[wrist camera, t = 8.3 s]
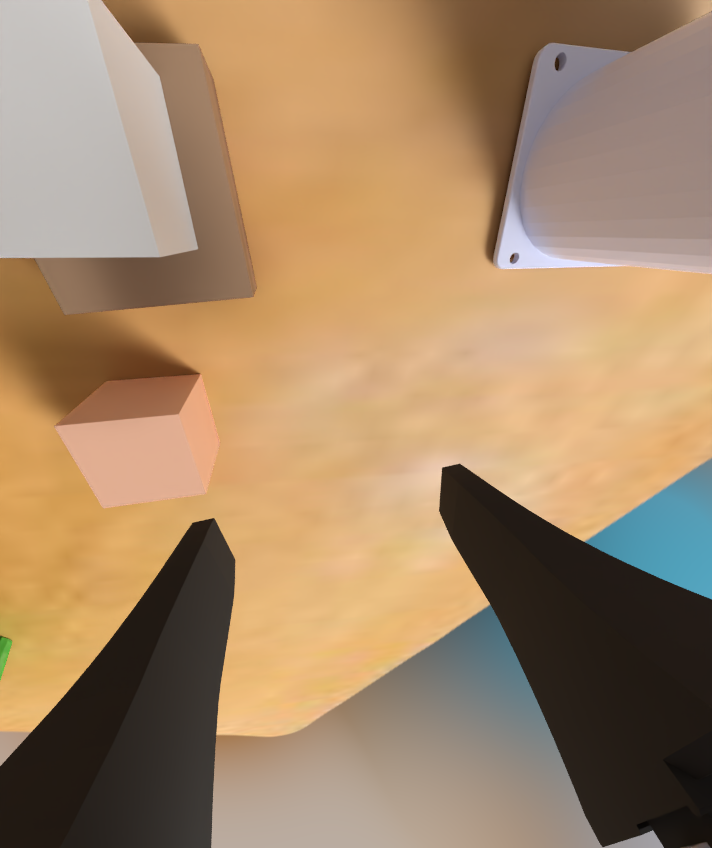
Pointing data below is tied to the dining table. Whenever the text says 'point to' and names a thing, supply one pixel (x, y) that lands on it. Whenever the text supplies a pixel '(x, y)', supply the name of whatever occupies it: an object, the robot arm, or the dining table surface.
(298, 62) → the dining table surface
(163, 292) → the walnut base
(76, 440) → the terracotta block
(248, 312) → the dining table surface
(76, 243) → the grey block
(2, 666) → the fruit basket
